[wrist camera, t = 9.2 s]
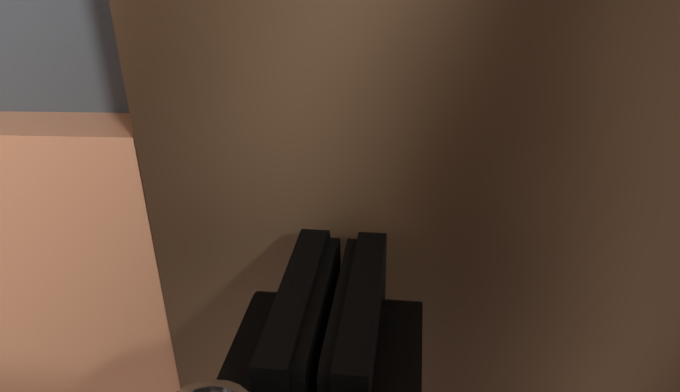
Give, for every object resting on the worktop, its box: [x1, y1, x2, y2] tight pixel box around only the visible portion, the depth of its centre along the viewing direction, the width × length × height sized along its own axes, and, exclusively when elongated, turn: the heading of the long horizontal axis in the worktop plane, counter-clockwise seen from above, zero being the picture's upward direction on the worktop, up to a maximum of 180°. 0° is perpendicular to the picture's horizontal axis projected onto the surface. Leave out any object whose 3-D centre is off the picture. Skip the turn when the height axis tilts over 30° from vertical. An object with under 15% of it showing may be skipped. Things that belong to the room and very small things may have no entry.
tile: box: [0, 111, 180, 392], centre depth 14 cm, size 7×7×2 cm
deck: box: [109, 0, 680, 392], centre depth 13 cm, size 14×16×2 cm
